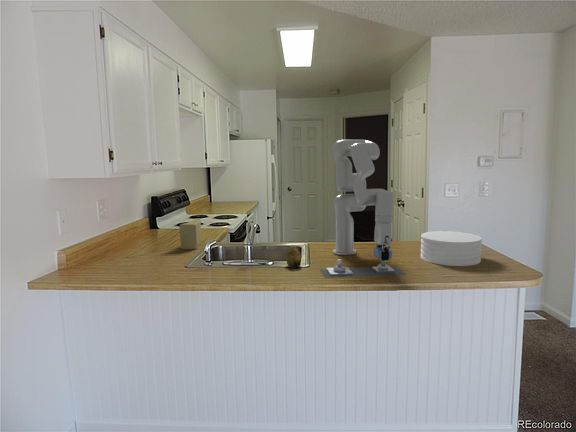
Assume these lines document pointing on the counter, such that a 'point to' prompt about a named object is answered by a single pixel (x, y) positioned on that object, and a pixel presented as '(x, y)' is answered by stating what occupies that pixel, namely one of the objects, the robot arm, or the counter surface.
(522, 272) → the counter surface
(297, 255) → the potato
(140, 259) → the counter surface
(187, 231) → the cheese
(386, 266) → the stand
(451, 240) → the plate stack
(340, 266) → the hub
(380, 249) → the square hole block
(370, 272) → the bench mat
